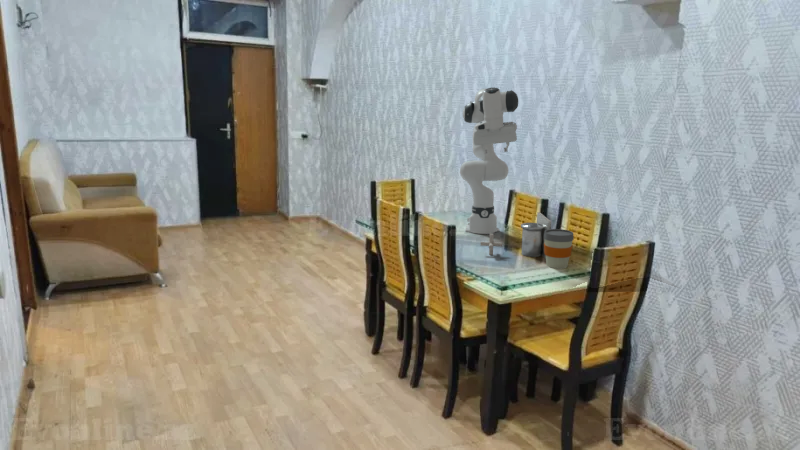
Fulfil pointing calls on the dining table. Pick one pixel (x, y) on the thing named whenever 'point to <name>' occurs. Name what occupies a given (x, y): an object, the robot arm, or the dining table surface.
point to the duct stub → (535, 236)
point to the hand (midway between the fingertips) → (495, 152)
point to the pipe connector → (491, 244)
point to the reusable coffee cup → (558, 247)
